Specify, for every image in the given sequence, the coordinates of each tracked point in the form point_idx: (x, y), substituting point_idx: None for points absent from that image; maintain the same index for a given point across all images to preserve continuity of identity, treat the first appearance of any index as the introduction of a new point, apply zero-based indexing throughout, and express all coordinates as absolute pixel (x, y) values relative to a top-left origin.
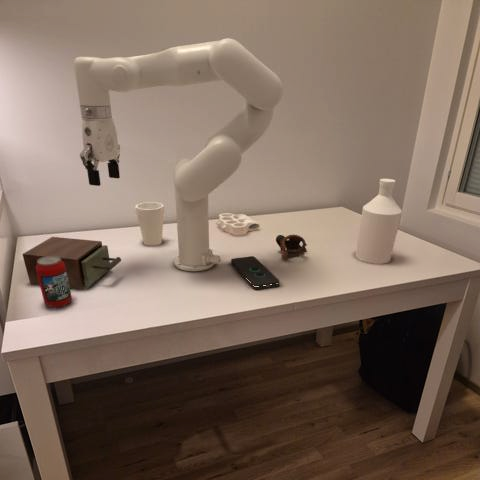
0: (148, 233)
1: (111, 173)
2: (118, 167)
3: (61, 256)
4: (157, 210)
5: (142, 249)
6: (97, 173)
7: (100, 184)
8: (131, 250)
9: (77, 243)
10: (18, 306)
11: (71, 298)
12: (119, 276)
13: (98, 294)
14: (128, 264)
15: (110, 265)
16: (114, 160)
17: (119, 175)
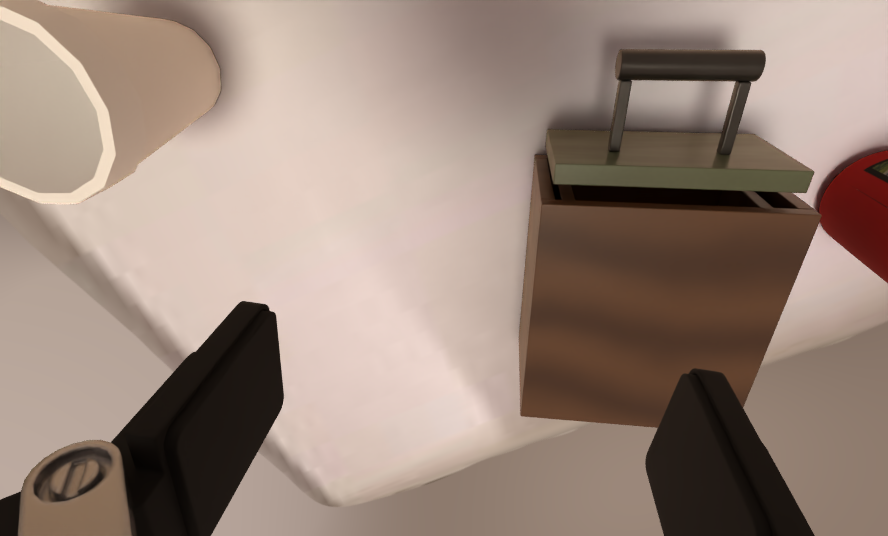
0: (189, 77)
1: (261, 410)
2: (171, 389)
3: (772, 294)
4: (44, 20)
5: (276, 86)
6: (792, 508)
7: (699, 371)
8: (307, 133)
9: (590, 298)
10: (877, 307)
11: (880, 152)
12: (603, 60)
13: (803, 71)
14: (462, 77)
15: (743, 58)
16: (133, 525)
17: (231, 315)
